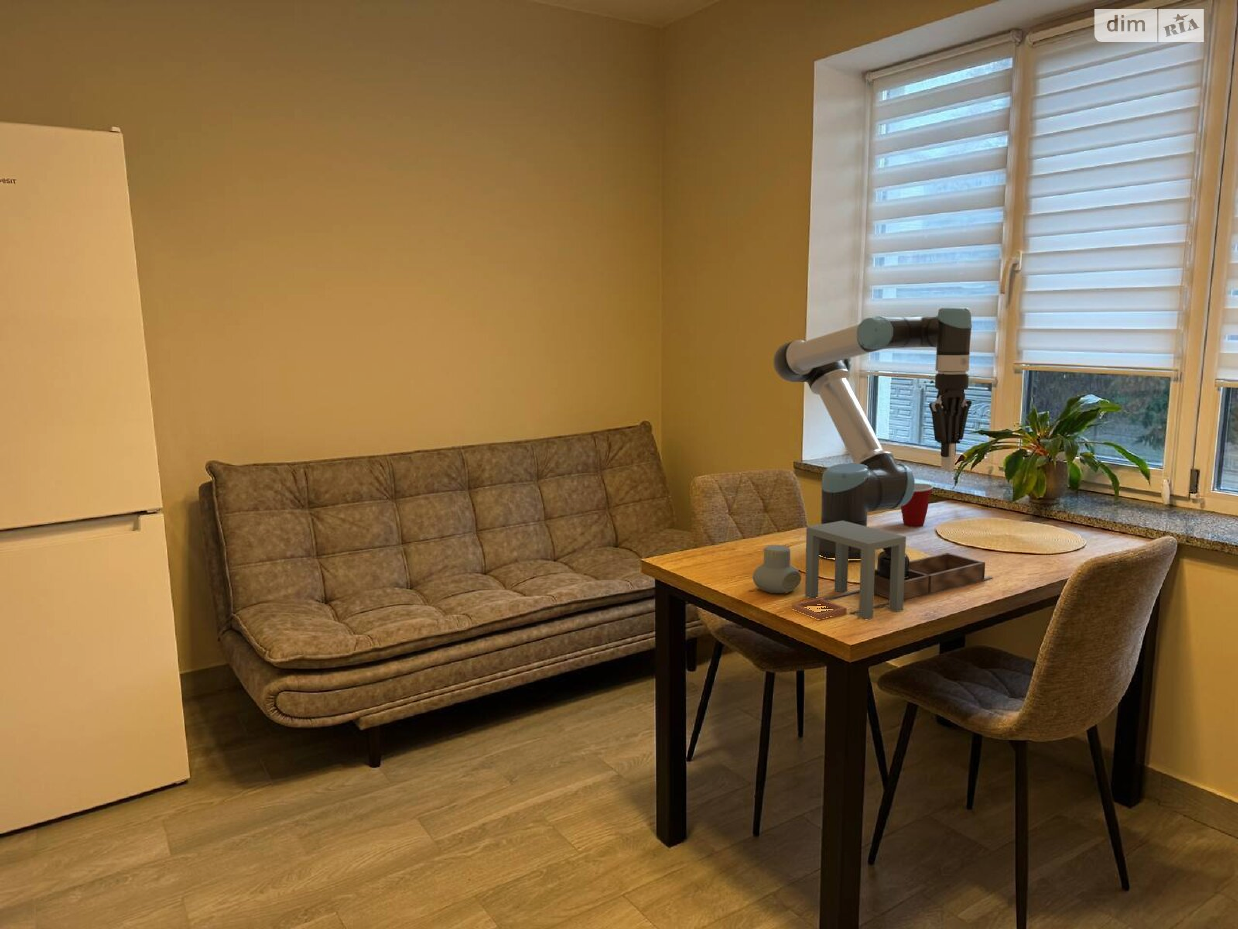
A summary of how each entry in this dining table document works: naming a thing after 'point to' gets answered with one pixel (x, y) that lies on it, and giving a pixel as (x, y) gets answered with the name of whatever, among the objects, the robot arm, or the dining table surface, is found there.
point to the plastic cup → (917, 506)
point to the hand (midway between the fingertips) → (947, 469)
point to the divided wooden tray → (934, 575)
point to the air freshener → (776, 571)
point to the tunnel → (868, 543)
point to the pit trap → (819, 615)
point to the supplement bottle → (889, 564)
